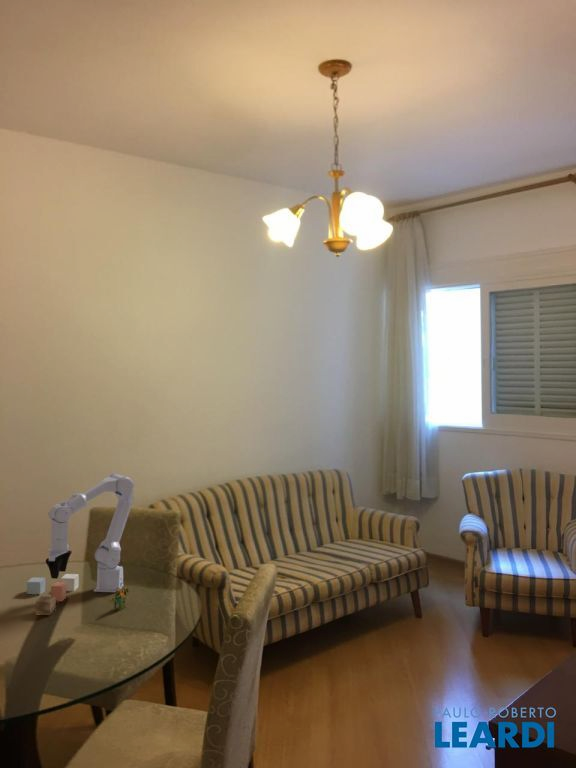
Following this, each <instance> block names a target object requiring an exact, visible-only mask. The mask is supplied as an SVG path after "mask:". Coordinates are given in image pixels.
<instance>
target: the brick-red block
mask: <svg viewBox="0 0 576 768" xmlns="http://www.w3.org/2000/svg"><path fill="white" fill-rule="evenodd" d="M50 597H56V600H59V601H63V600H64V599H65V600H66V598H67V591H66V583H65V582H59V581H57V582H54V583H52V584H51V586H50ZM65 600H64V601H65ZM64 601H63V602H64Z"/></svg>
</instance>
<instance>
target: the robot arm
mask: <svg viewBox="0 0 576 768" xmlns="http://www.w3.org/2000/svg"><path fill="white" fill-rule="evenodd" d="M134 487H135V483H134V482H133V480H132V479H131V478H130V477H128V476H124V475H122V474H118V473H111V474H110V475H109V476H106V477H105V478H103V480H102V481H100V482H98V483H97V484H96V485H94V486H93V487H91V488H90V489H88V490H86V491H85V492H83V493H81V492H80V493H79V492H78V493H72V495H71V496H70V497H69V498H67V499H66V500H62V501H61V502H60V503H57V504H53V505H52V506H51V508H49V511H48V517H49V518H50V521H51V522H50V524H51V525H50V548H48V549H47V553H49V555H48V558H46V559H45V565H47V567H48V570H49V574H50V577H51V579H54V580H55V579H58V578H59V575H60V572H61V573H64V572H66V571H67V567H68V566H67V565H68V563H69V559H70V557H71V555H72V553H73V551H72V550H69V549H70V548H69V544H68V535H69V534H68V530H69V529H68V527H69V526H68V525H69V524H68V521H69V520H70V519H71V516H72V515H74V514H76V513H77V512H79V511H81V510H82V509H84V508H85V507H87V505H88V502H90V501H91V500H93V499H95V498H97V497H98V496H100V495H102V494H104V493H107V492H108V493H109V492H110V493H114V495H115V496H116V498H117V500H118V501H117V504H116V507H115V510H114V514H113V516H112V518H111V519H112V520H111V522H110V524H109V528H108V531H107V534H106V536H105V539H104V540H102V541H101V542H100V543H99V544H100V545H99V546H98V548H97V549H96V550H95V552H94V559H95V561H97V568H96V569H97V572H96V573H97V575H96V576H97V579H96V581H97V582H96V587H95V588H94V589H93V592H94V593H98V592H99V593H116V592H115V591H119V589H117V590H116V588H117V587H118V588H120V590H121V589H122V588H123V587H124V567H123V566H120V565H119V564H120V561H121V551H122V548H121V545H120V542H121V539H122V535H123V532H124V530H125V527H126V524H127V521H128V518H129V515H130V512H131V508H132V505H133V503H134V500H135V495H134Z"/></svg>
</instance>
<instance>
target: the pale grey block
mask: <svg viewBox="0 0 576 768" xmlns="http://www.w3.org/2000/svg"><path fill="white" fill-rule="evenodd" d="M79 575H80V574H78V573H65V574H64V575H63V576H62V577H61V578H60V581H61V582H65V583H66V592H75V591H76V590H77V589H78V588H79V582H80V581H79V580H80V579H79V578H80V577H79Z"/></svg>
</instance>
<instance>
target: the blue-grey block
mask: <svg viewBox="0 0 576 768" xmlns="http://www.w3.org/2000/svg"><path fill="white" fill-rule="evenodd" d="M46 579H47V578H46V577H34V576H33V577H31V578H30V579H29V580H27V581H26V595H27V594H41V593H42V594H43V593H44V592H45V591H46ZM42 594H41V595H42Z"/></svg>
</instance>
